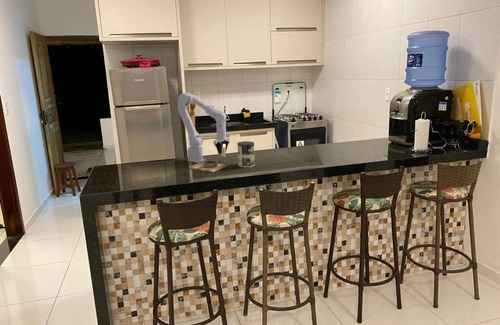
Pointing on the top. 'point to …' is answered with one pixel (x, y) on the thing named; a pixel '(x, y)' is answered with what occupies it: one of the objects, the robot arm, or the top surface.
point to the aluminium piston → (223, 151)
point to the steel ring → (210, 164)
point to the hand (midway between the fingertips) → (222, 152)
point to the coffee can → (245, 154)
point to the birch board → (200, 167)
